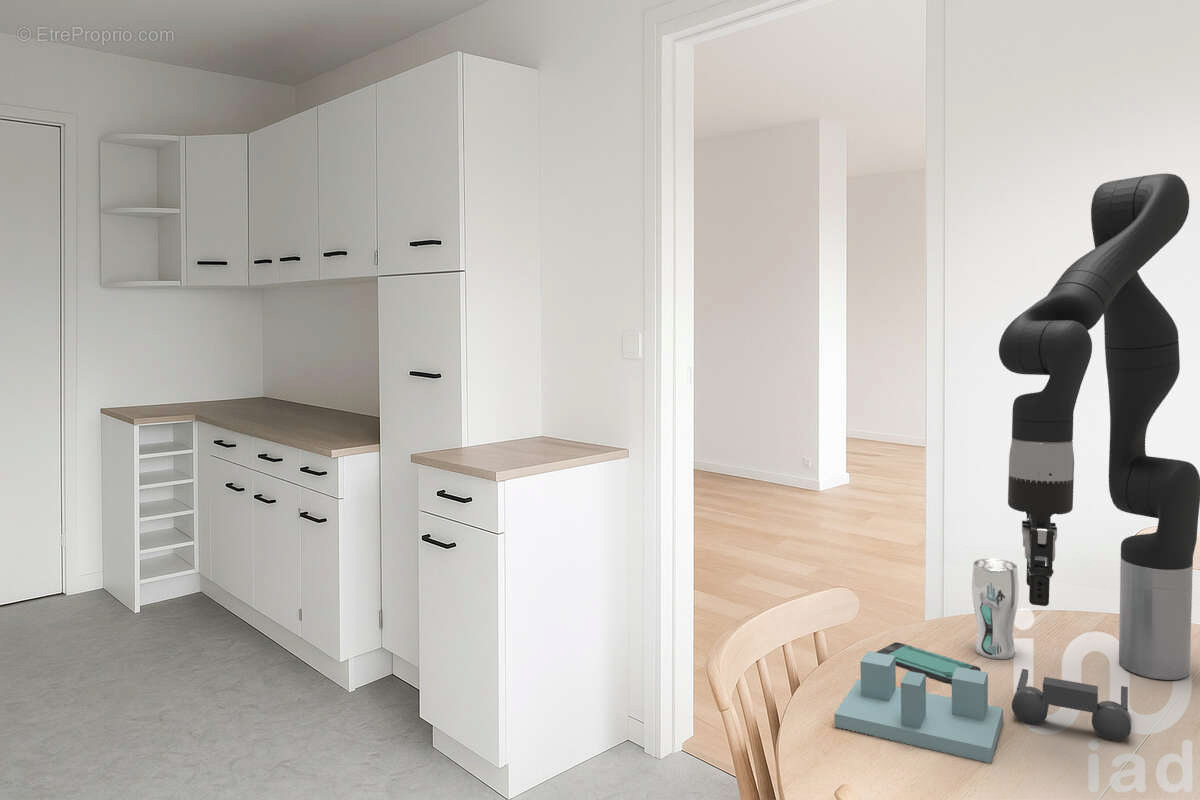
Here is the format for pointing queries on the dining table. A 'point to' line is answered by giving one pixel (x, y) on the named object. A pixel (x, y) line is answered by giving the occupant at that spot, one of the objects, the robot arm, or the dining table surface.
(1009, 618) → the beer glass
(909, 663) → the smartphone
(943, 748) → the stand
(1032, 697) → the glasses
